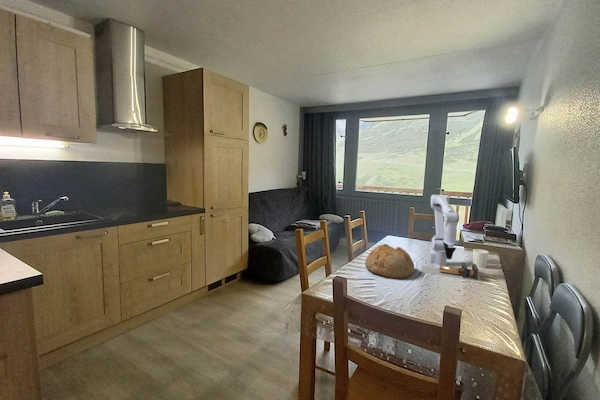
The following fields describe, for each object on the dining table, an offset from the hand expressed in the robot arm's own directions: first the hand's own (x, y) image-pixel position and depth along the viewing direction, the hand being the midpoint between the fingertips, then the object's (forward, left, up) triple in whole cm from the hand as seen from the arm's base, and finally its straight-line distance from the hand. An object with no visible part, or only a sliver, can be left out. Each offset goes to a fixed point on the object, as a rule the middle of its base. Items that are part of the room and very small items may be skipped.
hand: (448, 257), depth 156 cm
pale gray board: (+1, 0, -10) cm, 10 cm away
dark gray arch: (+8, 0, -9) cm, 12 cm away
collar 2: (+13, 0, -9) cm, 16 cm away
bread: (-31, -10, -10) cm, 34 cm away
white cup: (+19, +21, -10) cm, 30 cm away
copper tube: (+5, 0, -9) cm, 11 cm away
